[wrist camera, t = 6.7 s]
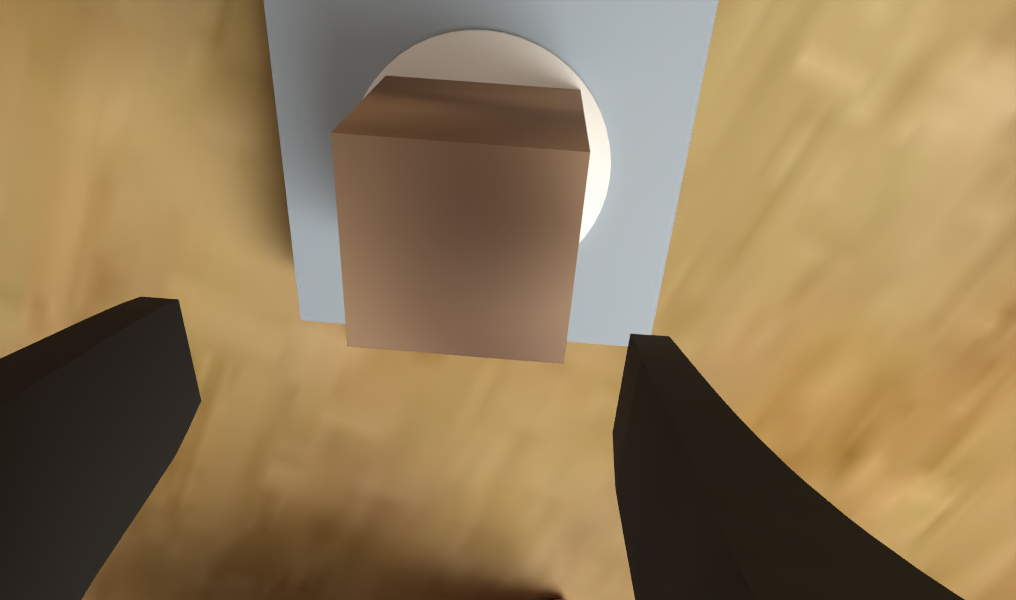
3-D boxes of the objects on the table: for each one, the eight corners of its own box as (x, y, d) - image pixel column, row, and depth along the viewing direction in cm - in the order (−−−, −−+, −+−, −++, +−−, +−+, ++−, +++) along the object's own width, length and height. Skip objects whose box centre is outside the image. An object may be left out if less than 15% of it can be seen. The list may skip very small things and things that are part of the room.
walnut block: (391, 250, 18) (347, 346, 14) (385, 75, 16) (330, 132, 12) (560, 263, 18) (563, 364, 14) (580, 89, 15) (590, 151, 12)
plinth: (325, 278, 21) (298, 324, 19) (293, -80, 16) (250, -78, 14) (638, 303, 21) (649, 352, 19) (704, -52, 16) (730, -45, 14)
